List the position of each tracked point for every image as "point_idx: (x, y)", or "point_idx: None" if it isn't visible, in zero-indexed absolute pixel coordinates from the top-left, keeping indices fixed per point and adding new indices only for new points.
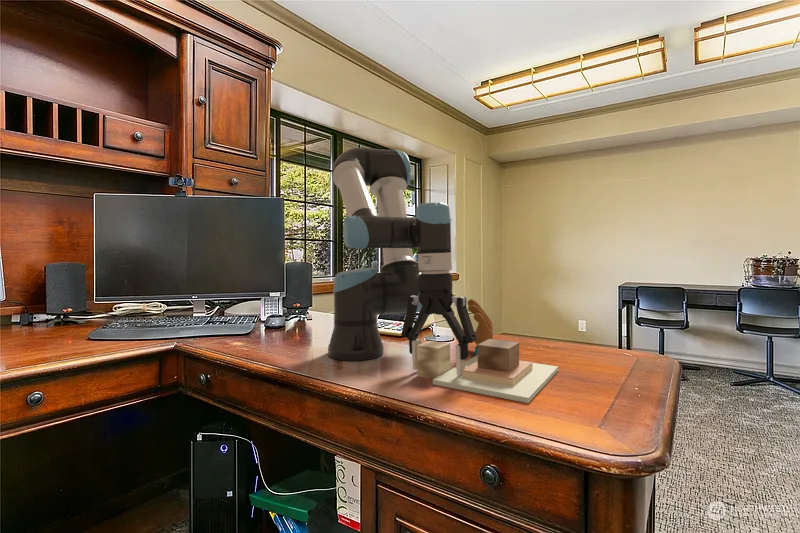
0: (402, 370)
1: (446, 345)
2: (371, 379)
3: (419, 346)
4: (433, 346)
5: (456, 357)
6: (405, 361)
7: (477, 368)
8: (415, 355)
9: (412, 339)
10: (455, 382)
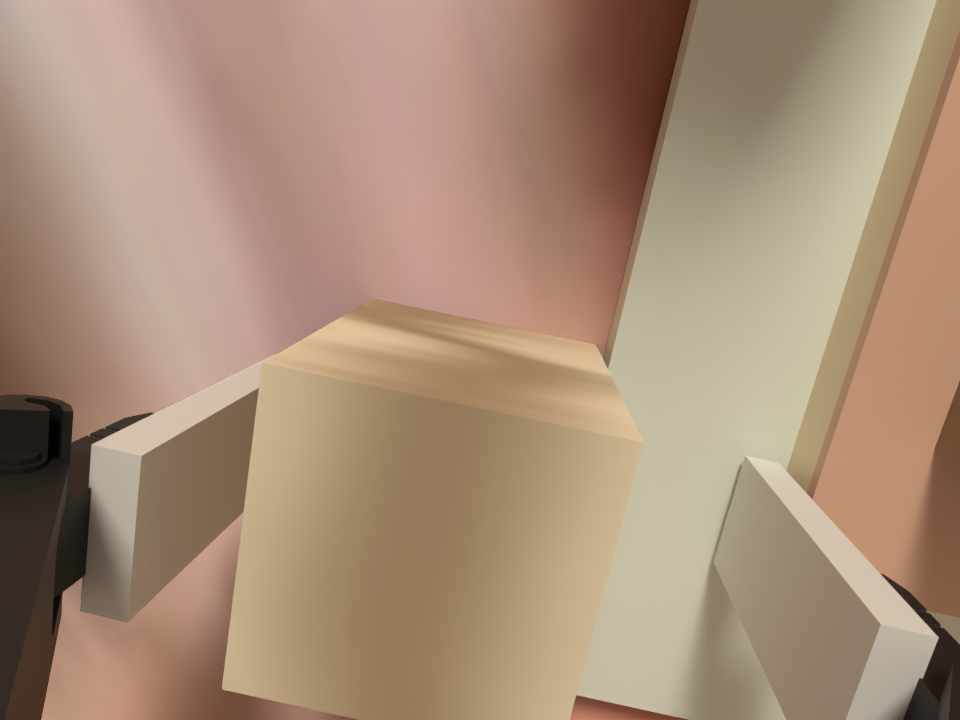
0: (155, 400)
1: (612, 557)
2: (59, 688)
3: (263, 687)
4: (455, 686)
5: (768, 670)
6: (29, 89)
7: (937, 489)
8: (229, 521)
9: (61, 595)
10: (729, 700)
